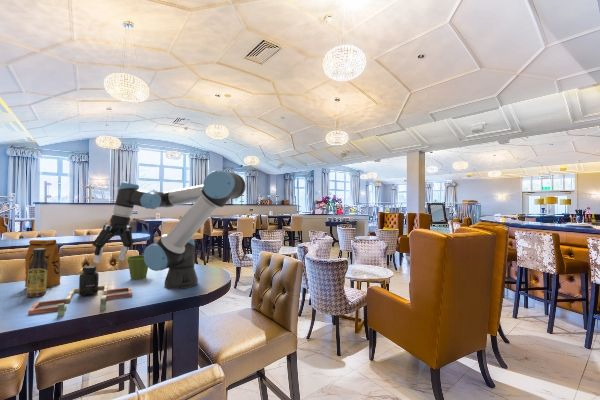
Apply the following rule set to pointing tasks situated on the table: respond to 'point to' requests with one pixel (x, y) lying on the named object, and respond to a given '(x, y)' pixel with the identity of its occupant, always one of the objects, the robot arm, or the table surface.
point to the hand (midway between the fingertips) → (109, 261)
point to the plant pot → (137, 267)
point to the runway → (60, 303)
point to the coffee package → (50, 257)
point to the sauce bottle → (37, 274)
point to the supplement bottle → (88, 281)
